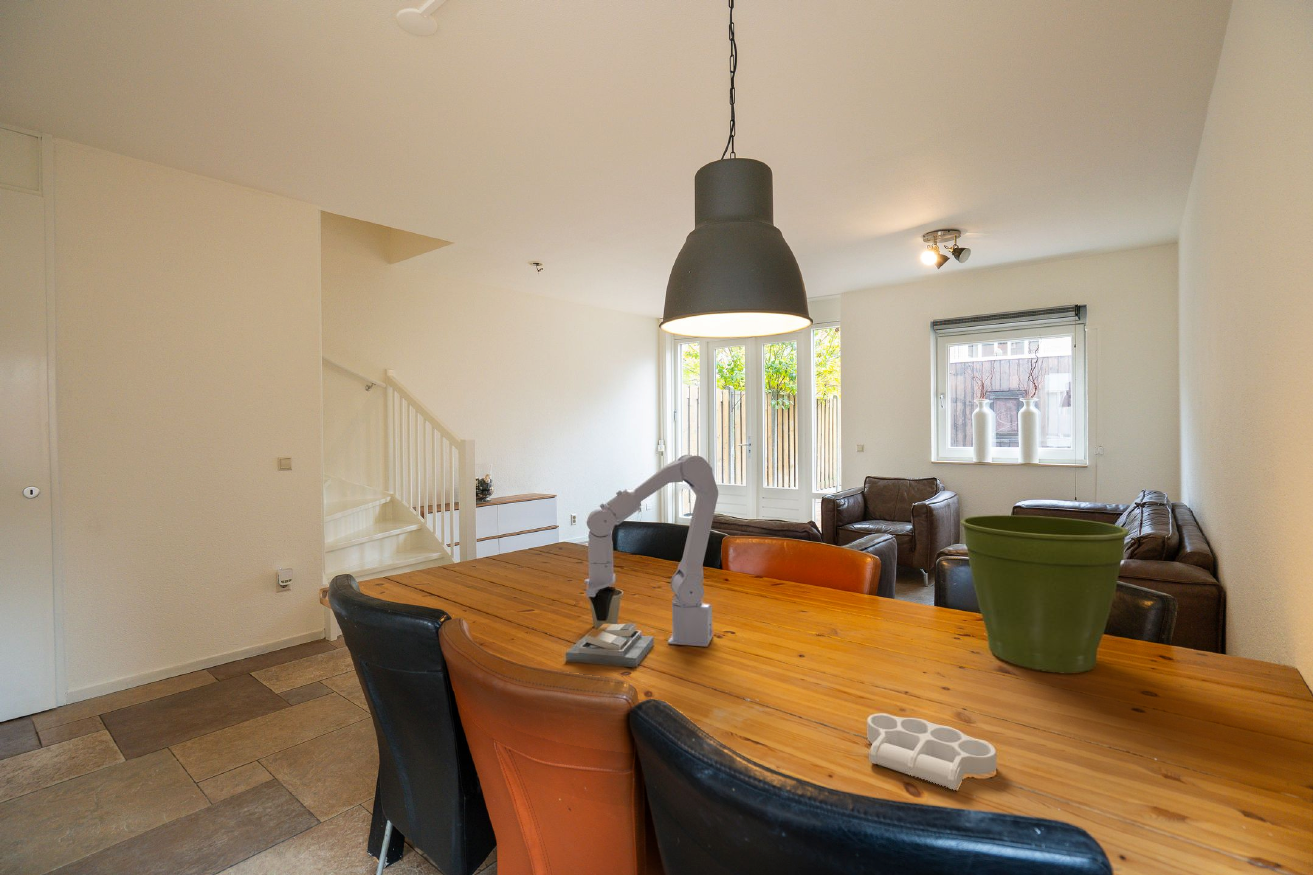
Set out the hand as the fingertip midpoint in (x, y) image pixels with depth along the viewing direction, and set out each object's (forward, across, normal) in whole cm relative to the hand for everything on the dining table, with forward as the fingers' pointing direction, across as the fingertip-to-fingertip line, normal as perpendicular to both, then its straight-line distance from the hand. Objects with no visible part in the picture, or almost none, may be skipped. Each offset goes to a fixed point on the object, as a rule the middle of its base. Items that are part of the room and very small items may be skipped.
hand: (602, 620), depth 138 cm
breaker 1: (+2, +7, +3) cm, 8 cm away
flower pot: (+6, -14, -5) cm, 16 cm away
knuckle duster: (+7, +34, +64) cm, 73 cm away
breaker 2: (+2, 0, +3) cm, 4 cm away
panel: (+6, +4, +3) cm, 8 cm away
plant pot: (+7, -14, +94) cm, 96 cm away
